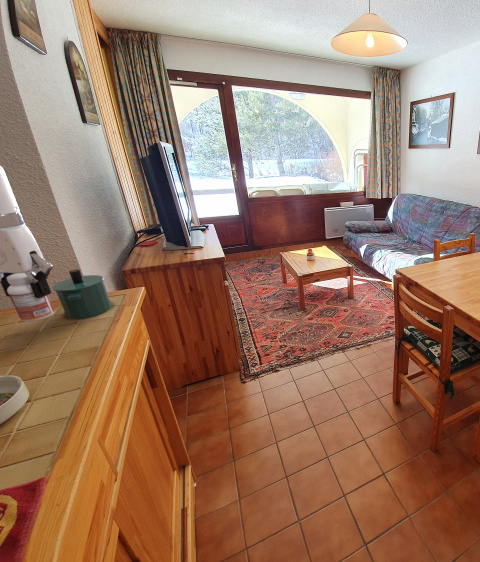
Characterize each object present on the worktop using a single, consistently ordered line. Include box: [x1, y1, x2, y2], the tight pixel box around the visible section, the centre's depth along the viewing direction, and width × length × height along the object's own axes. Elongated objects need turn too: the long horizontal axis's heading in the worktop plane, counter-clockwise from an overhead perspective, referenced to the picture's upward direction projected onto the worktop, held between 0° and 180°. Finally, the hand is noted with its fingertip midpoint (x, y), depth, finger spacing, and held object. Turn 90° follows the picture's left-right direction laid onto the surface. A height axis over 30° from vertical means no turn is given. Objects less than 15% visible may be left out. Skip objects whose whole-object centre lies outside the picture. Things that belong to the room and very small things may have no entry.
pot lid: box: [52, 268, 105, 292], centre depth 85 cm, size 11×11×5 cm
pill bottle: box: [7, 271, 56, 323], centre depth 75 cm, size 6×6×11 cm
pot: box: [55, 281, 112, 320], centre depth 88 cm, size 10×15×8 cm, turn 30°
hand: (29, 294), depth 75 cm, fingers closed on pill bottle, 6 cm apart
